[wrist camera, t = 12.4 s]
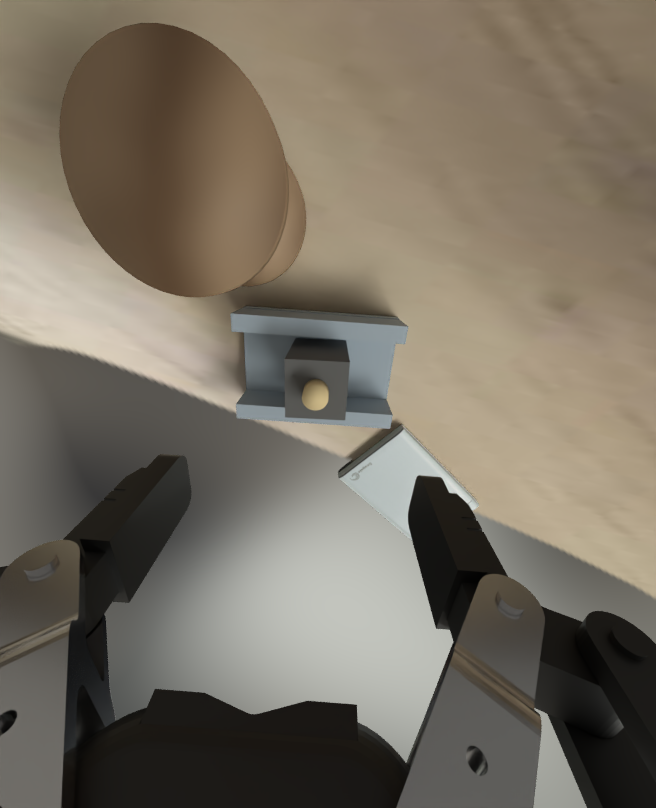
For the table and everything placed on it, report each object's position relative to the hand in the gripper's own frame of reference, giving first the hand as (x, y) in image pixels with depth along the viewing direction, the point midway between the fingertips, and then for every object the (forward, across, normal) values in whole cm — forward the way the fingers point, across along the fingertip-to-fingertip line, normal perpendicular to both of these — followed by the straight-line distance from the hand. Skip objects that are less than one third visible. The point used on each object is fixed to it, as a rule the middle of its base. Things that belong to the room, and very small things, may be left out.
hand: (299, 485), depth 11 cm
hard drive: (+17, -10, +13) cm, 24 cm away
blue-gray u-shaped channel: (+16, 0, 0) cm, 16 cm away
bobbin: (+16, +6, -10) cm, 20 cm away
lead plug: (+15, 0, 0) cm, 15 cm away
